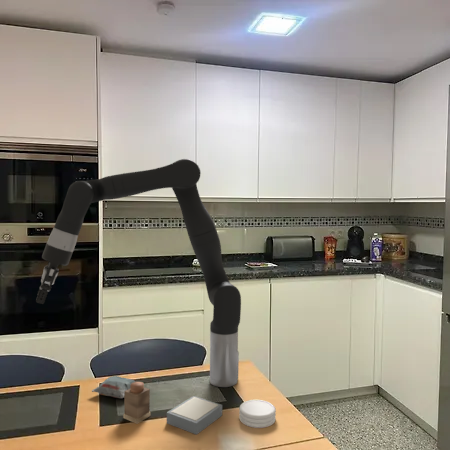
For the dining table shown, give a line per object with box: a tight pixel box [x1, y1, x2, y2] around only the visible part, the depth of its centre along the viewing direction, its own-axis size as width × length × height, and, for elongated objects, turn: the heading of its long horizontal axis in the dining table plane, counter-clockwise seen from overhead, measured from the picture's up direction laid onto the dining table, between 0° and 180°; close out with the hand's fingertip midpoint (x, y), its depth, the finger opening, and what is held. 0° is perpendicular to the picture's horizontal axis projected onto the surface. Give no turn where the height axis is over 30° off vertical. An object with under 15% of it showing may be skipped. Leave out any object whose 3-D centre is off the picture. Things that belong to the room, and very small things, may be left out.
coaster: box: [238, 399, 277, 429], centre depth 117 cm, size 10×10×4 cm
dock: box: [166, 395, 223, 435], centre depth 116 cm, size 12×10×3 cm
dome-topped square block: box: [123, 381, 152, 424], centre depth 117 cm, size 5×5×9 cm
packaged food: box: [91, 375, 136, 399], centre depth 131 cm, size 9×12×5 cm
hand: (40, 299), depth 122 cm, fingers open, 8 cm apart
